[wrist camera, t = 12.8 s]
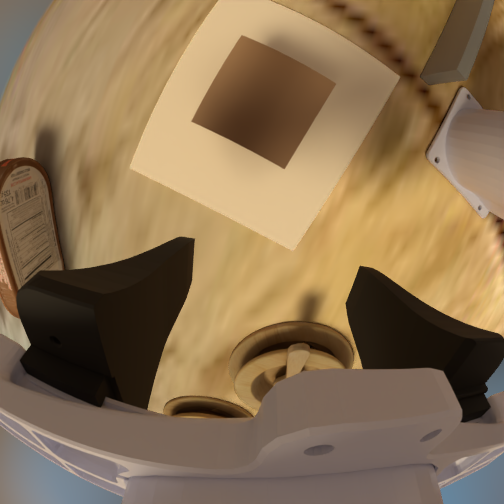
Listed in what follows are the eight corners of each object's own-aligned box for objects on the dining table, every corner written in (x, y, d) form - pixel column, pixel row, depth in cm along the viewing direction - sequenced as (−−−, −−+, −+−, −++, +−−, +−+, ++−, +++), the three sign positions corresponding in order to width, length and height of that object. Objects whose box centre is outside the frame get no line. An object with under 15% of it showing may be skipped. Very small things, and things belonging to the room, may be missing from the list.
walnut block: (314, 96, 16) (336, 83, 11) (278, 156, 18) (284, 169, 13) (249, 62, 15) (241, 35, 10) (213, 123, 17) (191, 121, 12)
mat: (398, 77, 15) (400, 77, 15) (292, 249, 21) (293, 251, 21) (229, -12, 13) (229, -14, 12) (131, 167, 19) (129, 168, 19)
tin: (32, 151, 18) (-33, 172, 11) (53, 147, 18) (-16, 168, 11) (56, 288, 25) (14, 335, 17) (77, 292, 25) (34, 343, 17)
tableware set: (258, 273, 23) (255, 318, 18) (388, 361, 28) (402, 399, 23) (135, 402, 34) (123, 433, 29) (240, 447, 39) (237, 476, 33)
